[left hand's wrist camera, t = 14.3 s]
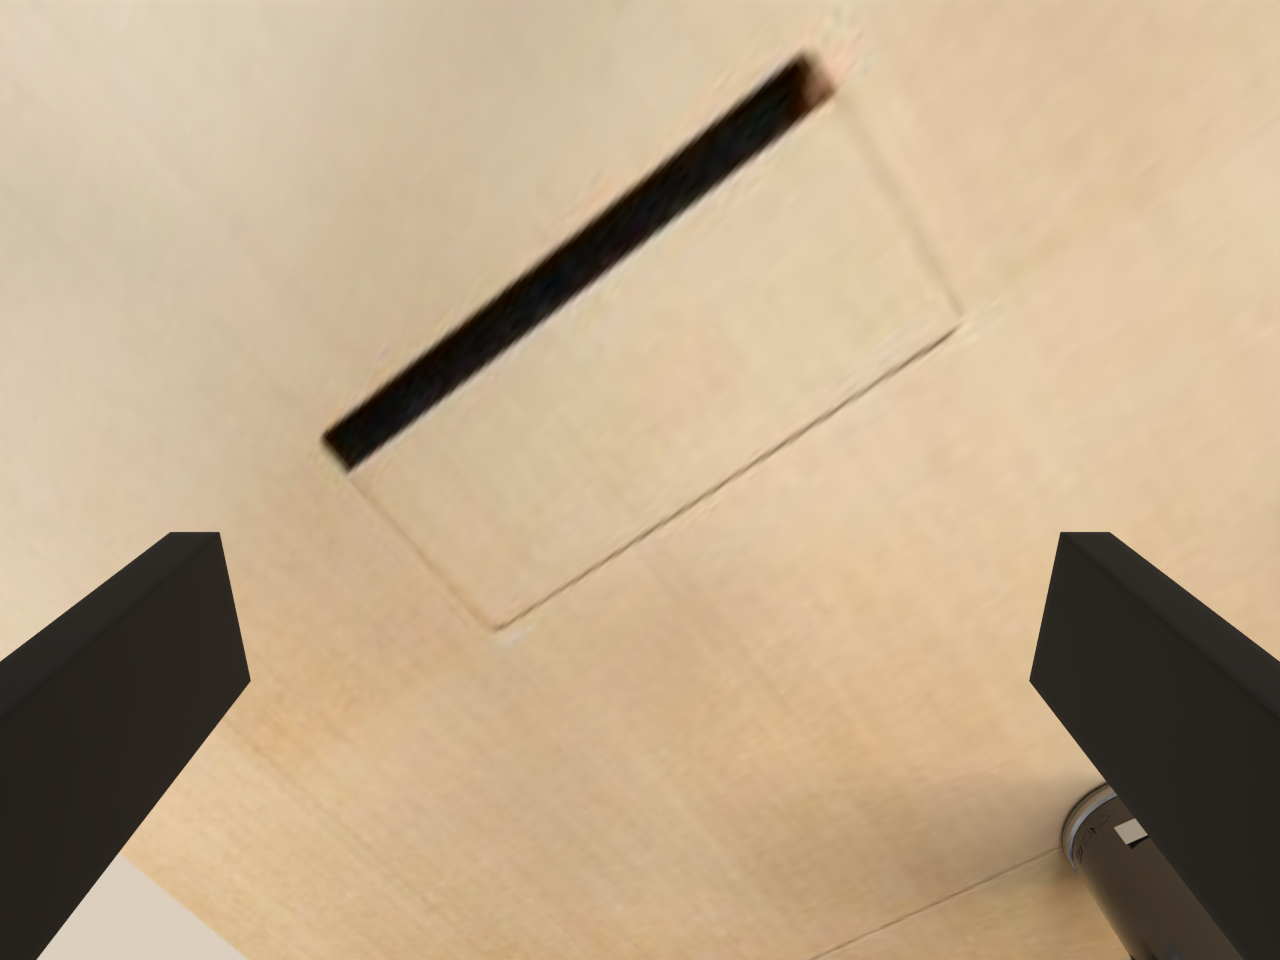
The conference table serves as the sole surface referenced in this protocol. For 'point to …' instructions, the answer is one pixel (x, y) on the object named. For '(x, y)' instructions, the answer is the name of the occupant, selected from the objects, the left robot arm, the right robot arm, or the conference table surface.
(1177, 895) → the right robot arm
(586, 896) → the conference table surface
